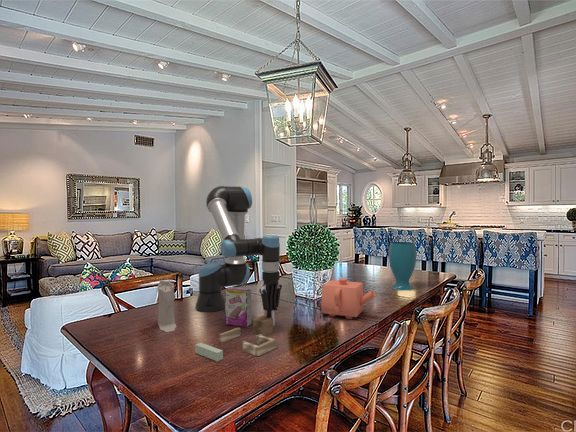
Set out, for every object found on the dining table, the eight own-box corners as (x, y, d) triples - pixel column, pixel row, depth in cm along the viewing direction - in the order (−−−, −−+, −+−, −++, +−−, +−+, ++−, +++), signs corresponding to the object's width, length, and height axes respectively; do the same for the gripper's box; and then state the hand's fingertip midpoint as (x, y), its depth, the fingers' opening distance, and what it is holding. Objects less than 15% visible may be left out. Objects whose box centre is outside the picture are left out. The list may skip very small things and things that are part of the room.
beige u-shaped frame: (217, 342, 136) (217, 335, 136) (237, 334, 144) (237, 327, 144) (258, 356, 123) (258, 348, 123) (278, 346, 131) (277, 338, 131)
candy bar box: (224, 325, 157) (224, 288, 156) (229, 321, 161) (229, 286, 161) (246, 327, 153) (246, 290, 153) (251, 324, 158) (251, 288, 157)
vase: (420, 291, 222) (420, 244, 221) (393, 291, 222) (393, 244, 221) (410, 285, 239) (411, 241, 238) (385, 285, 239) (385, 241, 238)
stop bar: (195, 352, 126) (195, 344, 126) (200, 350, 128) (200, 342, 128) (217, 361, 119) (217, 352, 119) (222, 359, 121) (222, 350, 121)
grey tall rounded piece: (161, 333, 147) (160, 286, 146) (157, 323, 159) (156, 280, 159) (178, 330, 150) (178, 284, 150) (173, 321, 162) (173, 278, 162)
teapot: (379, 312, 176) (380, 277, 175) (370, 325, 155) (370, 286, 155) (332, 306, 186) (332, 273, 186) (318, 318, 166) (318, 281, 165)
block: (253, 333, 146) (253, 319, 146) (262, 329, 151) (262, 315, 151) (263, 336, 142) (263, 322, 142) (273, 332, 147) (273, 318, 147)
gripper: (267, 274, 143) (268, 331, 143) (286, 269, 153) (287, 322, 154) (254, 272, 147) (254, 327, 148) (273, 268, 158) (273, 319, 158)
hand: (271, 325), depth 151 cm, fingers closed
